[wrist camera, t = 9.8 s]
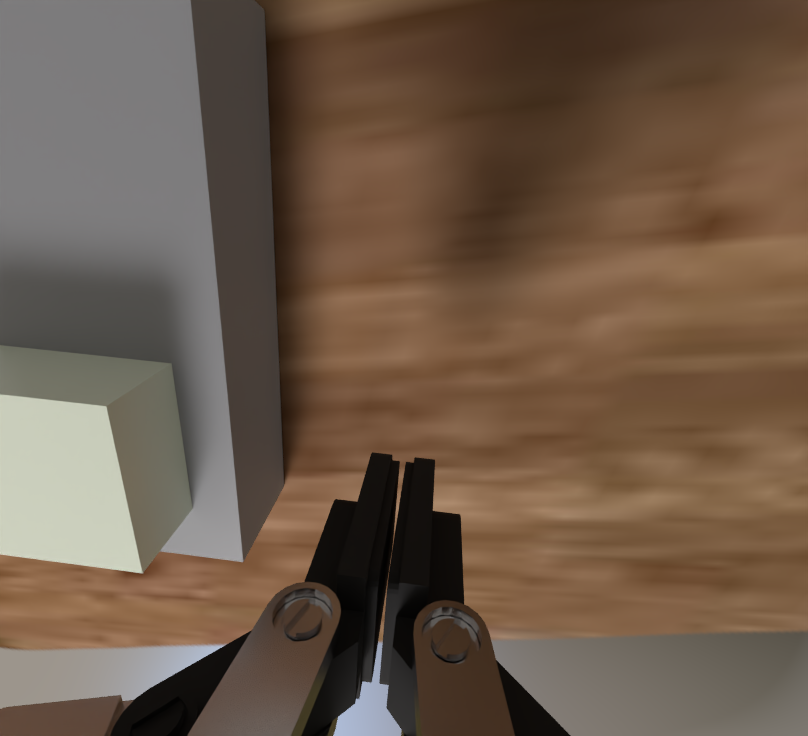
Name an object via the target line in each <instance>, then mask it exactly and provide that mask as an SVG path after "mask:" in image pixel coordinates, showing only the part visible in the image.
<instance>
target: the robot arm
mask: <svg viewBox="0 0 808 736" xmlns="http://www.w3.org/2000/svg"><path fill="white" fill-rule="evenodd" d="M399 464H400V461H393V460H392V455H389V454H381V453H372V454H371V457H370V460H369V464H368V467H367V471H366V474H365V478H364V481H363V485H362V488H361V491H360V495H359V498H358V502H354V501H346V500H338V499H336V500H335V501H334V503H333V505H332V508H331V510H330V513H329V516H328V519H327V521H326V524H325V527H324V530H323V532H322V535H321V538H320V541H319V543H318V546H317V549H316V552H315V554H314V557H313V560H312V563H311V565H310V568H309V571H308V574H307V576H306V579H305V582H302V583H296V584H293V585H291V586H288V587H286V588H284V589H283V590H281V591H280V592H278V593H277V594H276V595H275V596H274V597H273V598H272V600H271V601H270V602H269V603H268V605H267V607H266V608H265V610H264V611H263V613H262V615H261V616H260V618H259V620H258V621H257V623H256V624H255V626H254V628H253V629H252V631H250V632H248V633H246V634H245V635H243V636H241V637H239V638H238V639H236V640H234V641H232V642H231V643H229V644H227V645H225V646H224V647H222V648H220V649H218V650H217V651H215V652H213V653H212V654H209V655H208V656H206V657H204V658H202V659H201V660H199V661H197V662H196V663H194V664H192V665H190V666H188V667H187V668H185V669H183V670H181V671H180V672H178V673H176V674H174V675H173V676H171V677H169V678H167V679H166V680H164V681H162V682H160V683H159V684H157V685H155V686H153V687H151V688H150V689H148V690H147V691H146V692H144V693H143V694H141V695H140V696H138V697H137V698H136V699H135V700H130V701H122V697H121V695H118V696H108V697H99V698H90V699H79V700H70V701H60V702H52V703H42V704H33V705H22V706H13V707H6V708H2V709H0V736H333V735H334V732H335V729H336V724H337V720H338V716H339V715H341V714H342V713H343V712H345V711H346V710H347V709H348V708H350V707H351V706H352V705H353V704H355V700H356V698H357V699H358V698H359V697H360V691H361V685H362V681H366V682H372V677H373V671H374V664H375V658H376V651H377V645H378V638H379V632H380V625H381V619H382V612H383V606H384V599H385V593H386V586H387V580H388V587H387V598H386V610H385V622H384V634H383V648H382V660H381V671H380V684H387V685H389V689H388V699H387V709H388V710H389V712H390V713H391V715H392V716H393V718H394V719H395V721H396V722H397V723H398V725H399V726H400V728H401V729H402V732H401V736H570V735H569V734H568V733H567V732H566V731H565V730H564V729H563V728H562V727H561V726H560V725H559V724H558V722H557V721H556V720H555V719H554V718H553V717H552V716H551V715H550V714H549V713H548V712H547V711H546V710H545V709H544V708H543V707H542V706H541V705H540V704H539V703H538V702H537V701H536V700H535V699H534V698H533V697H532V696H531V695H530V694H529V693H528V692H527V691H526V690H525V689H524V688H523V687H522V686H521V685H520V684H519V683H518V682H517V681H516V680H515V679H514V678H513V677H512V676H511V675H510V674H509V673H508V672H507V671H506V670H505V668H503V666H501V664H500V663H499V662H498V661H497V660H496V658H495V654H494V650H493V646H492V642H491V638H490V634H489V631H488V629H487V627H486V624H485V622H484V621H483V620H482V618H481V617H480V616H479V615H478V613H476V612H475V611H474V610H472V609H471V608H470V607H468V606H466V605H464V588H463V563H462V538H461V517H460V514H452V513H444V512H436V511H433V492H434V470H435V460H433V459H424V458H415V459H414V463H410V462H406V465H405V472H404V478H403V485H402V491H401V498H400V504H399V511H398V518H397V524H396V531H395V537H394V544H393V535H394V523H395V512H396V500H397V488H398V476H399ZM392 546H393V550H392ZM391 553H392V557H391ZM390 560H391V564H390ZM389 567H390V570H389ZM388 573H389V578H388Z"/></svg>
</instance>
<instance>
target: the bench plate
mask: <svg viewBox="0 0 808 736" xmlns="http://www.w3.org/2000/svg"><path fill="white" fill-rule="evenodd" d="M0 345H3V346H13V347H22V348H31V349H41V350H50V351H60V352H69V353H79V354H88V355H97V356H107V357H116V358H126V359H135V360H145V361H154V362H163V363H172V370H173V377H174V384H175V391H176V398H177V405H178V412H179V419H180V426H181V432H182V439H183V446H184V453H185V460H186V467H187V474H188V481H189V488H190V494H191V501H192V508H193V509H192V510H191V512H190V513H189V514H188V515H187V517H186V518H185V519H184V521H183V522H182V523H181V524H180V526H179V527H178V528H177V530H176V531H175V532H174V533H173V535H172V536H171V537H170V539H169V540H168V541H167V542H166V544H165V545H164V546H163V548H162V549H161V550H160V551H163V552H170V553H178V554H186V555H194V556H201V557H209V558H217V559H224V560H232V561H240V562H243V561H244V560H245V558H246V556H247V554H248V552H249V550H250V548H251V547H252V545H253V543H254V541H255V539H256V537H257V535H258V533H259V532H260V530H261V528H262V526H263V524H264V522H265V520H266V519H267V517H268V515H269V513H270V511H271V509H272V507H273V506H274V504H275V502H276V500H277V498H278V496H279V494H280V492H281V491H282V489H283V487H284V473H283V448H282V424H281V399H280V375H279V351H278V326H277V302H276V277H275V253H274V229H273V204H272V180H271V155H270V131H269V107H268V82H267V58H266V34H265V10H264V9H263V8H262V7H261V6H260V5H259V4H258V3H257V2H256V1H255V0H0Z"/></svg>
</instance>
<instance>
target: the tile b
mask: <svg viewBox="0 0 808 736" xmlns="http://www.w3.org/2000/svg"><path fill="white" fill-rule="evenodd" d="M192 509H193V508H192V501H191V494H190V488H189V481H188V474H187V467H186V460H185V453H184V446H183V439H182V432H181V426H180V419H179V412H178V405H177V398H176V391H175V384H174V377H173V370H172V363H163V362H154V361H145V360H135V359H126V358H116V357H107V356H97V355H88V354H79V353H69V352H60V351H50V350H41V349H31V348H22V347H13V346H3V345H0V554H2V555H9V556H17V557H24V558H32V559H39V560H47V561H54V562H62V563H69V564H77V565H84V566H92V567H99V568H107V569H114V570H122V571H129V572H137V573H143V572H144V571H145V569H146V568H147V567H148V566H149V564H150V563H151V562H152V560H153V559H154V558H155V557H156V555H157V554H158V553H159V551H160V550H161V549H162V548H163V546H164V545H165V544H166V542H167V541H168V540H169V539H170V537H171V536H172V535H173V533H174V532H175V531H176V530H177V528H178V527H179V526H180V524H181V523H182V522H183V521H184V519H185V518H186V517H187V515H188V514H189V513H190V512H191V510H192Z"/></svg>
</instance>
